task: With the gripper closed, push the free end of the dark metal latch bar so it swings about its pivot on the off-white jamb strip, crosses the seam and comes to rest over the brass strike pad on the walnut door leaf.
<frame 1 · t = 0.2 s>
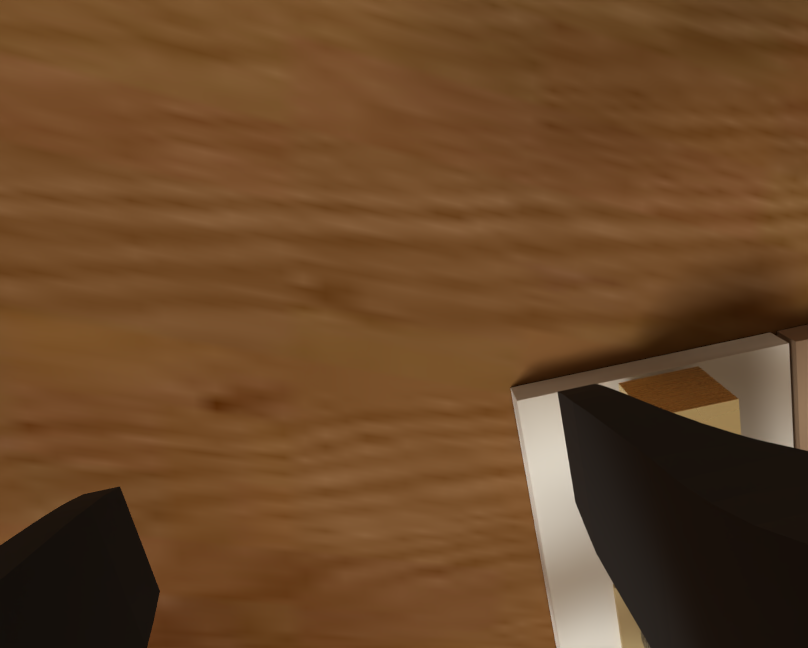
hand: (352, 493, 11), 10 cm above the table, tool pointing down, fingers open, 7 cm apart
latch bar: (691, 554, 20), point 3 cm above the table, hinge at 0.0°
door board: (795, 537, 24), on the table
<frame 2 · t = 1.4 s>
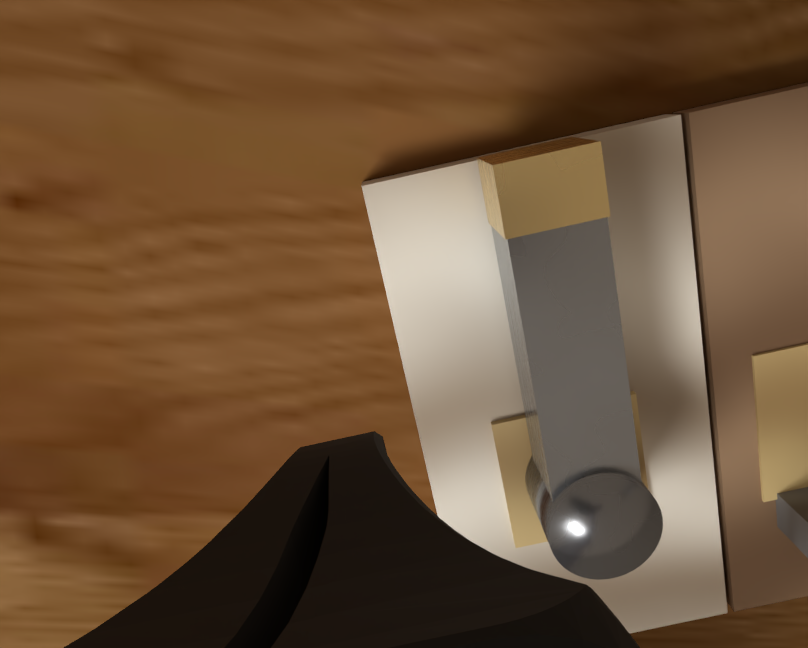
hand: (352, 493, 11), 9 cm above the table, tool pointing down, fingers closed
latch bar: (568, 365, 17), point 3 cm above the table, hinge at 0.0°
door board: (708, 375, 20), on the table
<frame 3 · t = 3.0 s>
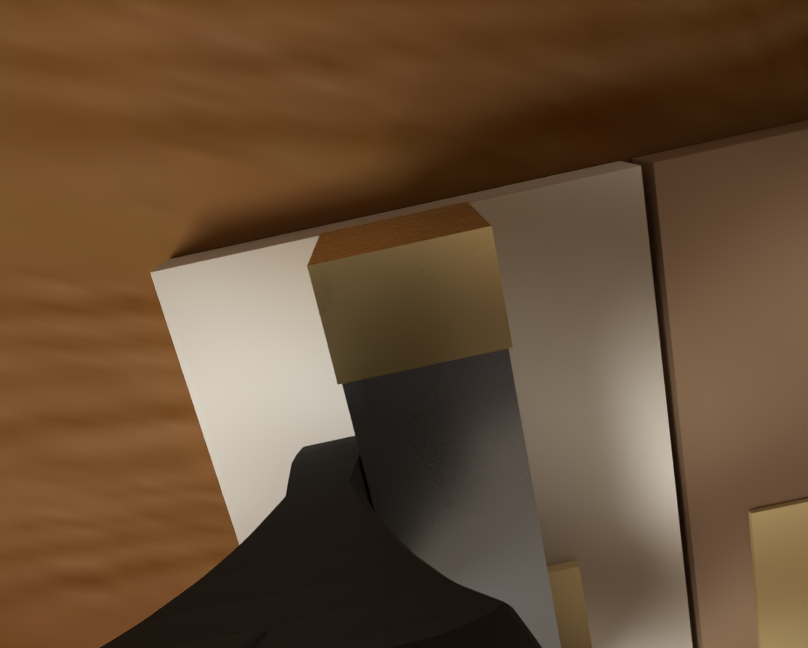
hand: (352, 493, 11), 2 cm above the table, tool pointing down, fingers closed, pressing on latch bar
latch bar: (465, 552, 11), point 3 cm above the table, hinge at 0.0°, touching gripper
door board: (686, 525, 14), on the table
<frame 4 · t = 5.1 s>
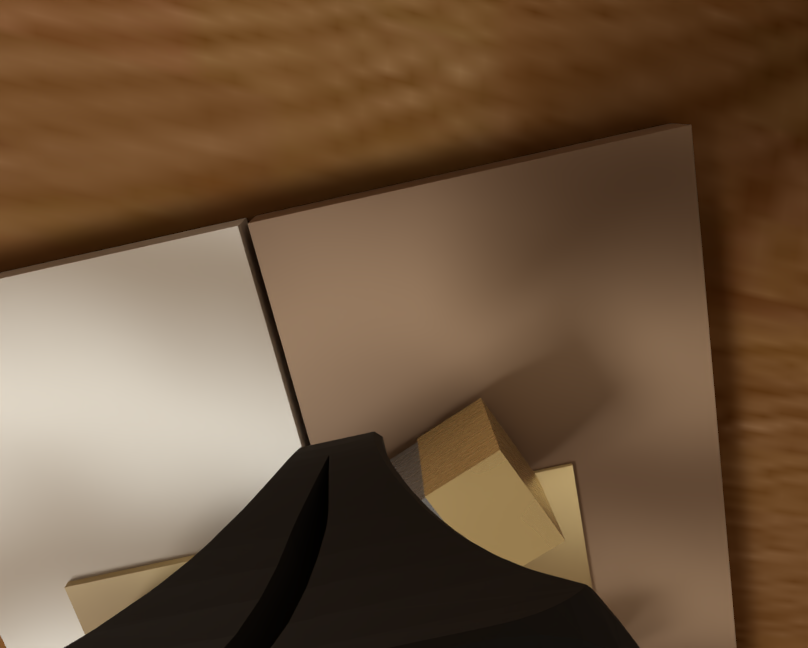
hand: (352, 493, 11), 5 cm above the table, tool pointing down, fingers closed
latch bar: (305, 599, 15), point 3 cm above the table, hinge at -67.7°
door board: (352, 516, 17), on the table
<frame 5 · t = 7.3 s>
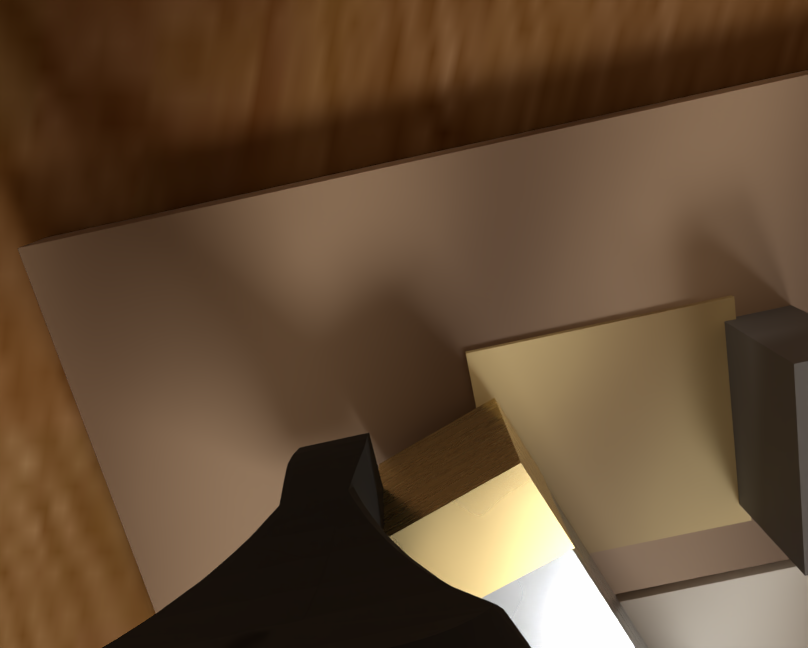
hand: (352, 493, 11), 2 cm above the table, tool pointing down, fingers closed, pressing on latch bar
door board: (543, 561, 15), on the table
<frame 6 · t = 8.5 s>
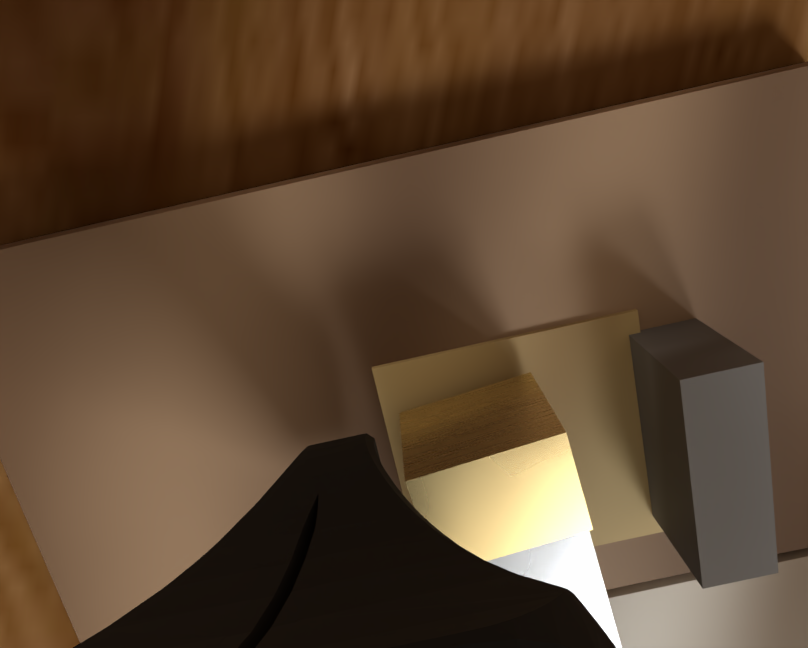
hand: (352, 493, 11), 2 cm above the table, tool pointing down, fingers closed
door board: (467, 572, 15), on the table
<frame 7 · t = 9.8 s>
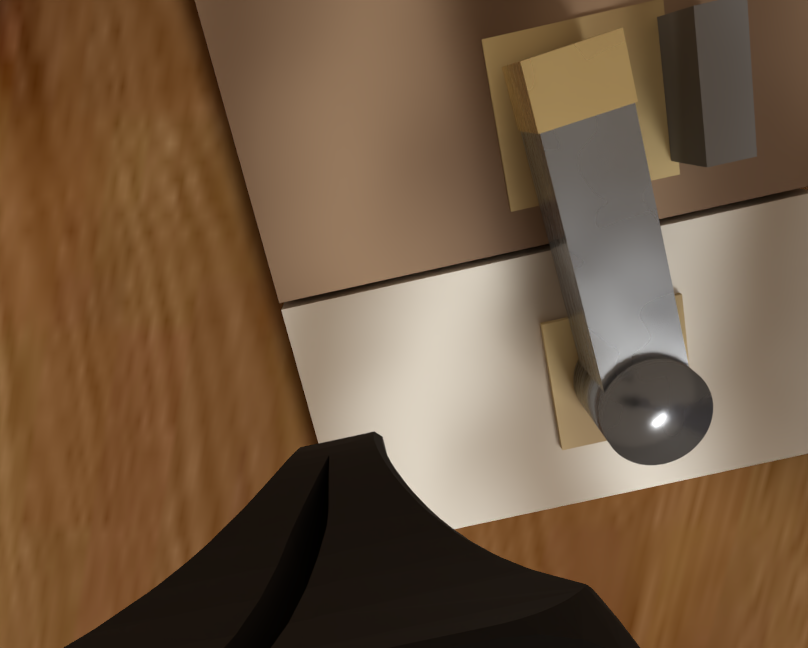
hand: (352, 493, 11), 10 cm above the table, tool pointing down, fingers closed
latch bar: (607, 260, 18), point 3 cm above the table, hinge at -84.6°
door board: (535, 227, 20), on the table
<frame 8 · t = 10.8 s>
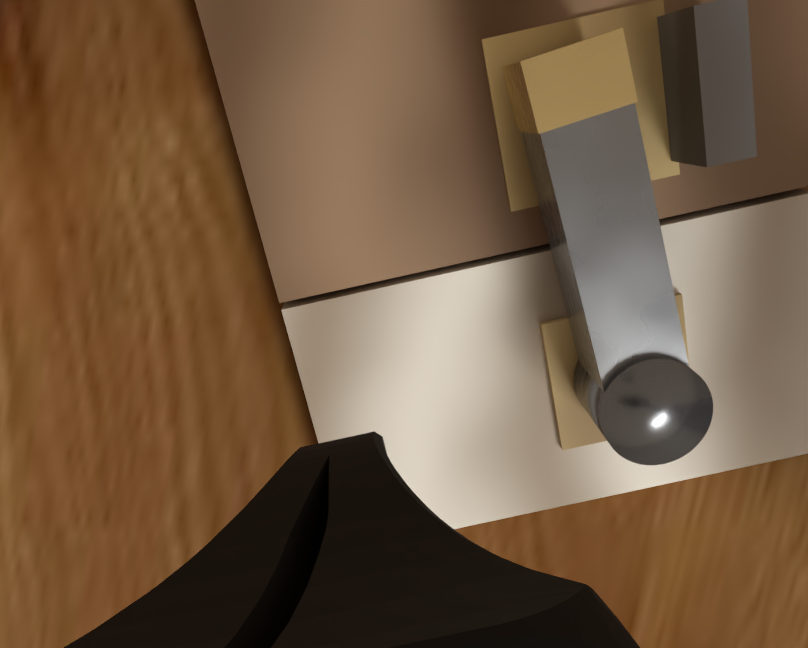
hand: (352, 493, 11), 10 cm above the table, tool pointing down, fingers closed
latch bar: (607, 260, 18), point 3 cm above the table, hinge at -84.6°
door board: (535, 227, 20), on the table
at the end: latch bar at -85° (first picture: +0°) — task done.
